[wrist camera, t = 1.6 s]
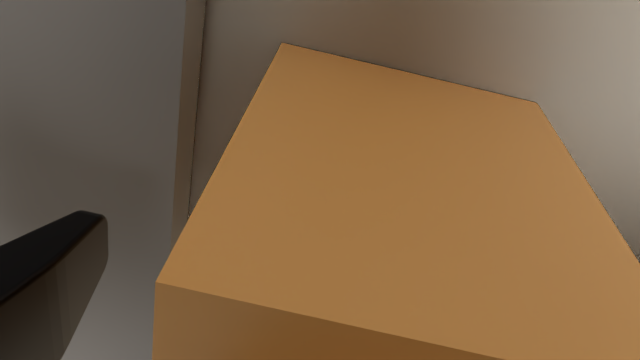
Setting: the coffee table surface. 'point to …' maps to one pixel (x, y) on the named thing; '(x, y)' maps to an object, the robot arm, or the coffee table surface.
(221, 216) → the orange button cube
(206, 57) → the coffee table surface
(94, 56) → the junction plate
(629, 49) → the coffee table surface
